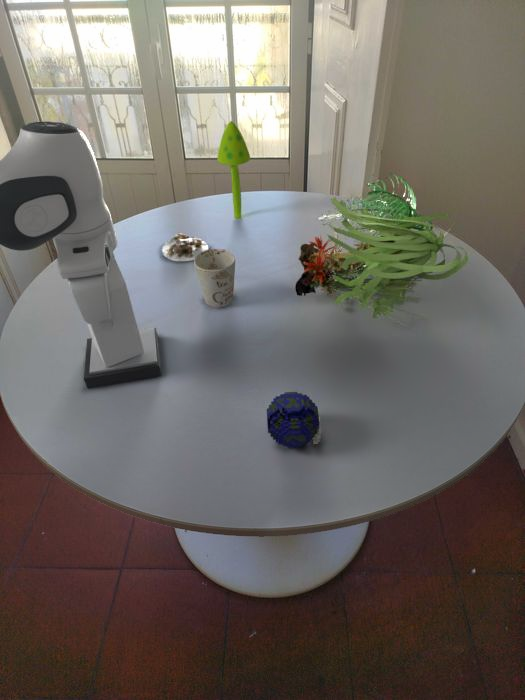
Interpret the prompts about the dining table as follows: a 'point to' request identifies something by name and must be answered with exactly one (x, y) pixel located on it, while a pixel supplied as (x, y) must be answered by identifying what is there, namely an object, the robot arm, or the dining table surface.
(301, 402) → the ball
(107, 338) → the milk carton
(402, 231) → the plant
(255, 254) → the dining table surface
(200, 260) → the mug
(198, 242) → the plate of food scraps
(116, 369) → the scale
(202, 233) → the dining table surface
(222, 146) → the mushroom
